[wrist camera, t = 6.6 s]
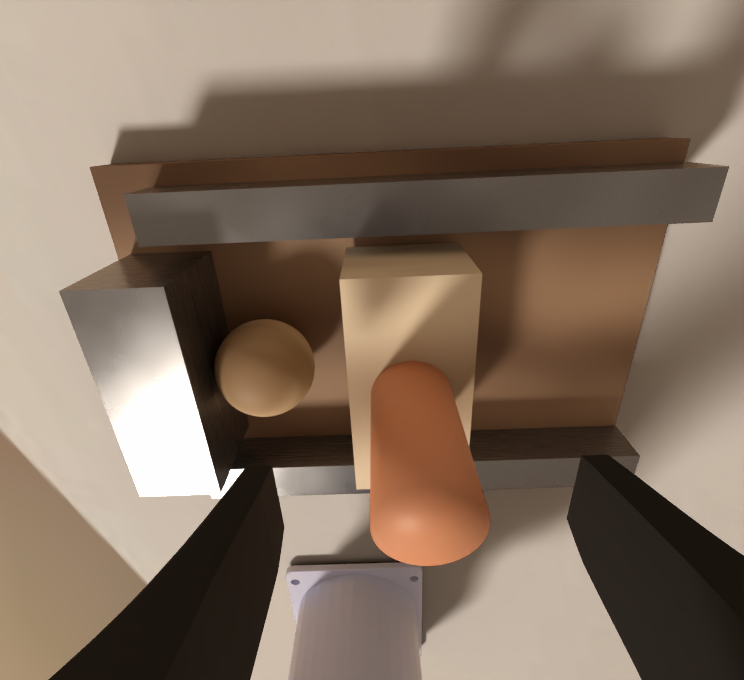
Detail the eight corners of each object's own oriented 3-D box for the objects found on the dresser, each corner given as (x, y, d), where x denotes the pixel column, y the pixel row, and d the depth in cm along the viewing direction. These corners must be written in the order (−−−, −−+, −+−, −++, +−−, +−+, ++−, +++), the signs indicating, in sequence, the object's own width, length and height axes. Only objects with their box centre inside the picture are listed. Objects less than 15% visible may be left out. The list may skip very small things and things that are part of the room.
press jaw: (450, 424, 19) (505, 632, 11) (359, 427, 19) (350, 636, 11) (458, 242, 15) (549, 361, 7) (346, 247, 15) (319, 370, 7)
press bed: (592, 447, 21) (654, 536, 17) (197, 460, 22) (149, 551, 17) (667, 137, 15) (800, 142, 10) (109, 164, 15) (-5, 179, 11)
